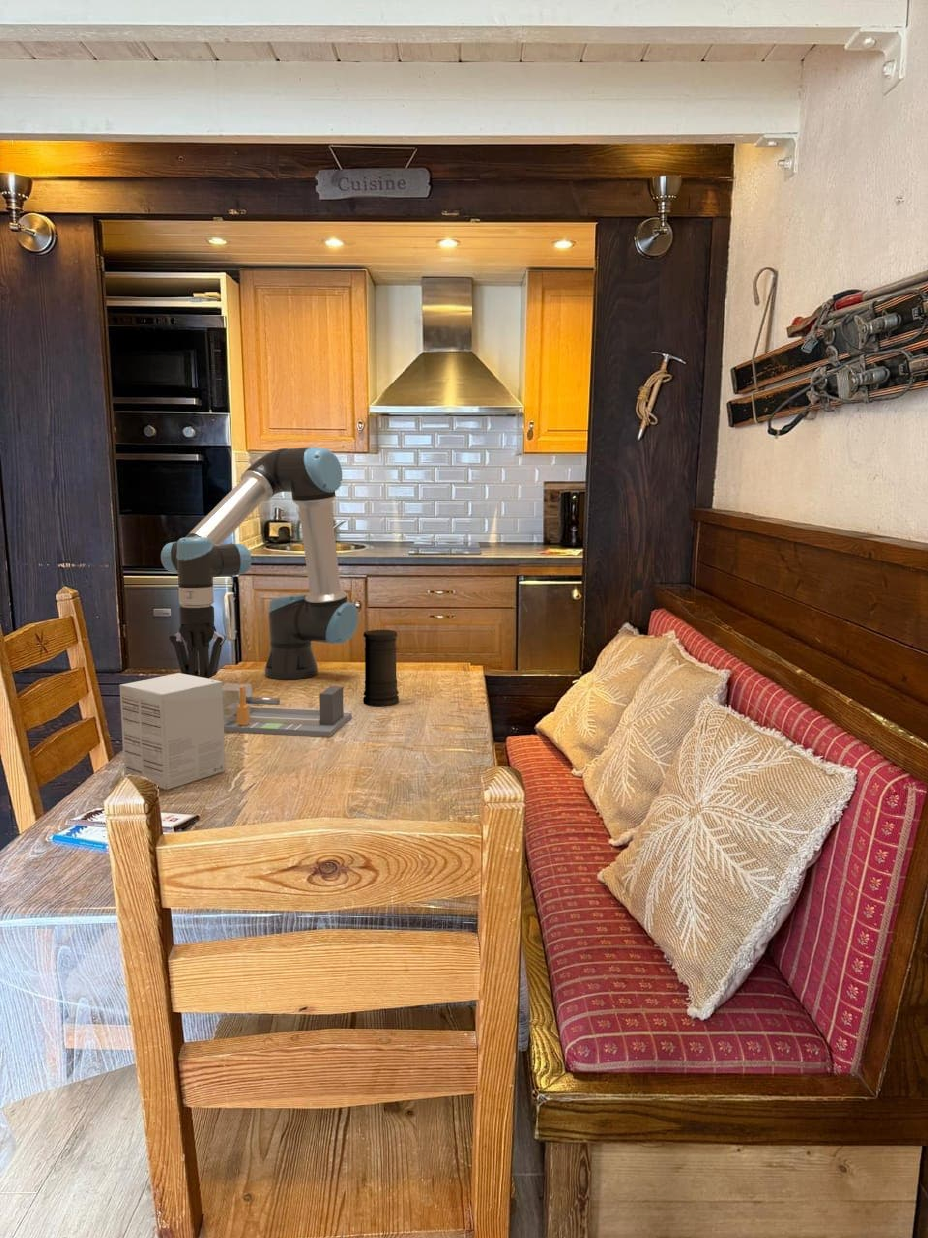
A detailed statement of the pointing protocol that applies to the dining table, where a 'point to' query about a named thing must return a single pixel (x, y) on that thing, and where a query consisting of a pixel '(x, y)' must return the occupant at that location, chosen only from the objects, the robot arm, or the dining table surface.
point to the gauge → (233, 698)
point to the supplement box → (173, 729)
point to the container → (380, 668)
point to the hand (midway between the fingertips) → (200, 706)
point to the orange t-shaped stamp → (243, 708)
